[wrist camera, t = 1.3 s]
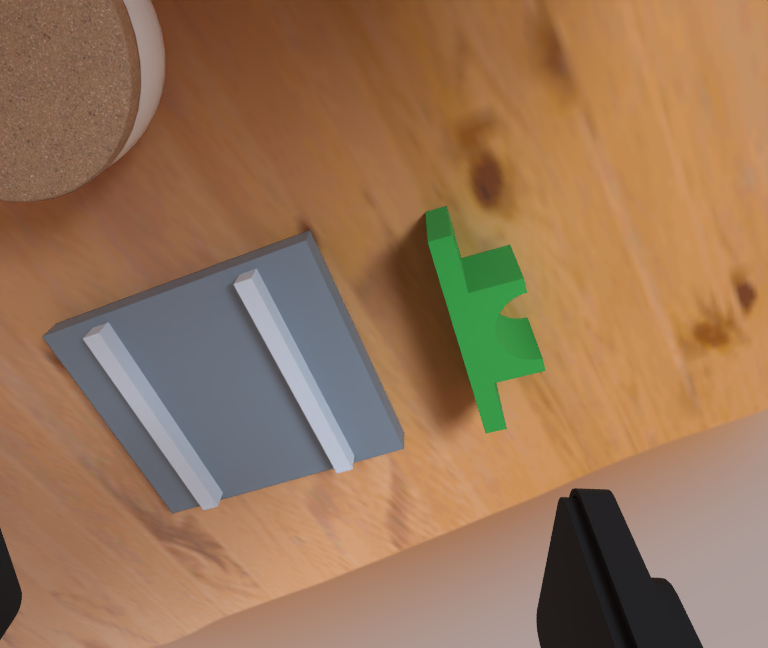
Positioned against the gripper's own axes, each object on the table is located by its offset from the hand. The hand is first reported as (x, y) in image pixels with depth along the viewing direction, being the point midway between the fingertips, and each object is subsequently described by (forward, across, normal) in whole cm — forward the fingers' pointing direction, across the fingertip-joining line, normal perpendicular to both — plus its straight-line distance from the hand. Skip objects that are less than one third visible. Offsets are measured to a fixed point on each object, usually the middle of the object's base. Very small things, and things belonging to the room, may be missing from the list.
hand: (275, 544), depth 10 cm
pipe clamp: (+24, -7, +6) cm, 25 cm away
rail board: (+24, +7, +11) cm, 27 cm away
